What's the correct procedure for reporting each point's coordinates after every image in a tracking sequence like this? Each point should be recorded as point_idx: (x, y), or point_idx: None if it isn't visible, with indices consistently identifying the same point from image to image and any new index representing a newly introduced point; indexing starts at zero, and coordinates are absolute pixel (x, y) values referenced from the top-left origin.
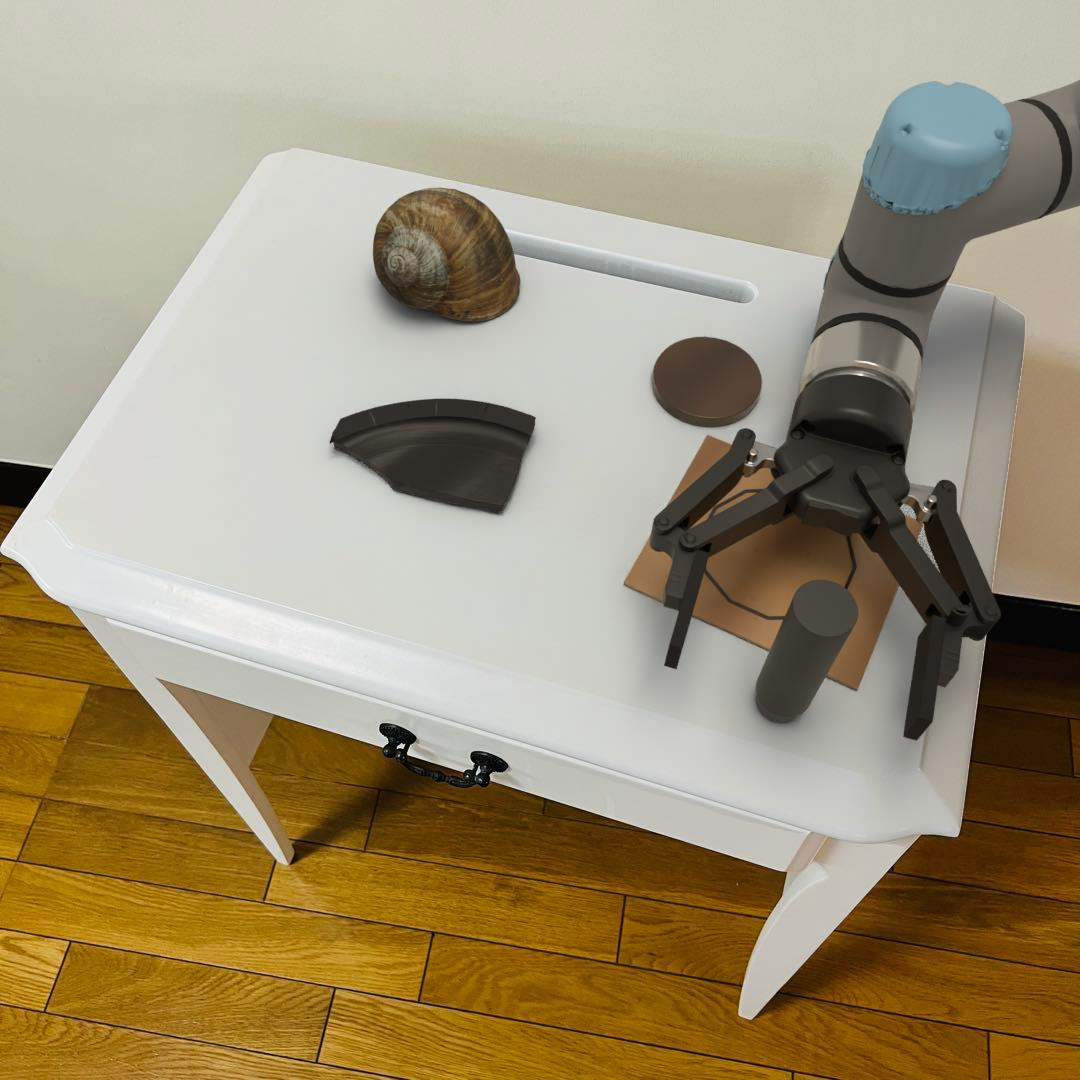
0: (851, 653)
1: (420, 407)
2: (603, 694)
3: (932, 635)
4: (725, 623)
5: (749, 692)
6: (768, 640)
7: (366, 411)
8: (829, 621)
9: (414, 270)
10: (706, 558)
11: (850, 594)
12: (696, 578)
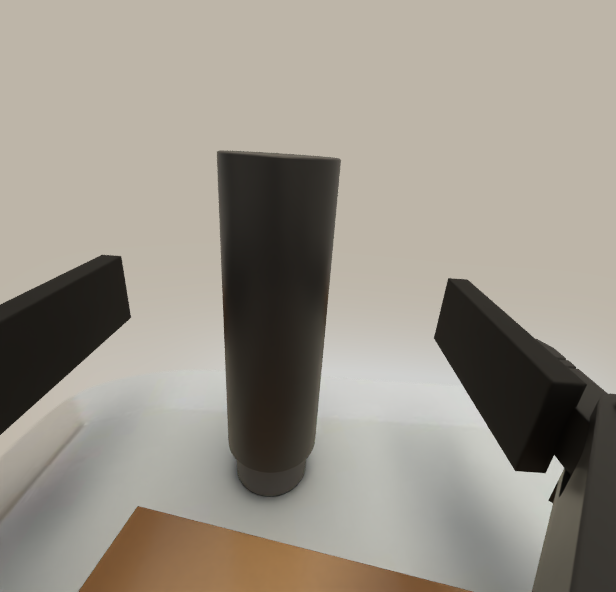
0: (124, 584)
1: None
2: (487, 430)
3: (7, 315)
4: (396, 583)
5: (315, 471)
6: (302, 566)
7: None
8: (271, 153)
9: None
10: (544, 369)
11: (229, 153)
12: (519, 338)
